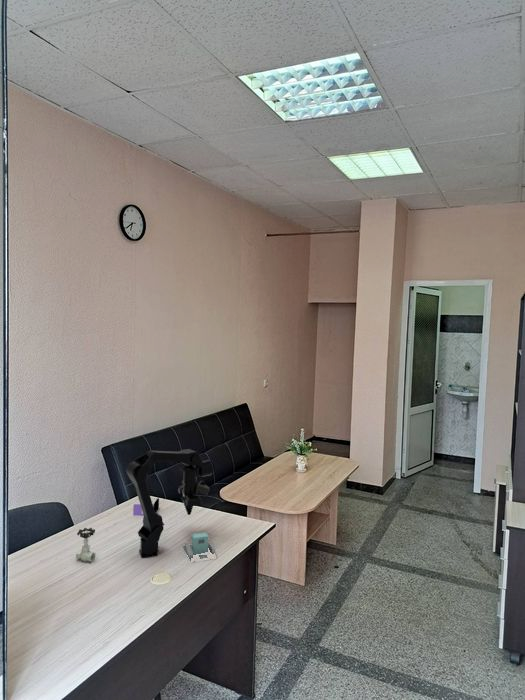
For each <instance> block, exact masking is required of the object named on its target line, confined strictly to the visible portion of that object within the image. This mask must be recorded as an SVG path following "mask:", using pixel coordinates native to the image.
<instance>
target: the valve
mask: <svg viewBox="0 0 525 700" xmlns="http://www.w3.org/2000/svg"><path fill="white" fill-rule="evenodd" d="M95 533H96V529H94V528H92V527H89V528H87V527H84V528H83V529H79V530H78V531H77V536H79V537H80V538H83V539H84V540H83V545H82V547H81V549H78V550H77V551H76V554H75V559H77V560H80V561H81V562H84V563H85V562H92V563H93V562H94V561H95V559H96V556H97V555H96V552H93V551H90V550H91V546H90V545H89V538H91V537H92V536H94V534H95Z"/></svg>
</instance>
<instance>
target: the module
mask: <svg viewBox="0 0 525 700" xmlns="http://www.w3.org/2000/svg"><path fill="white" fill-rule="evenodd" d="M208 540H210V539H209V534H208V533H207V531H204V532H195V533H191V545H192V551H193V554H194V555H196V554H201V553H205V552H208Z"/></svg>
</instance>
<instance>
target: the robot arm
mask: <svg viewBox="0 0 525 700" xmlns="http://www.w3.org/2000/svg"><path fill="white" fill-rule="evenodd" d="M156 462H170V463H171V462H172V463H175V462H176V463H181V464H182V465H181V466H180V467H178V469H179V470H180V471H181V472H183V476H182V477H183V480H182V481H181V485H180V486H178V489H177V492H178V494H181V493H182V496H181V497H180V498H181V501H182V503H183V506H184V508H185V511H186V514H187V515H188V516H190V515H192V511H193V507H196V506H202V504H203V503H202V502H203V501H202V498H201V497H200V496H199V494H201V495H204V496H206V497H207V496H208V494H209V492H210V489H211V488H210V487H209V486H208V485H207V484H206V483H205V481H204V480H200V481H197V479H198V478H204V477H208V476H212V475H213V473H214V466H213V464H212V463H211V462H212V461H211V460H209V459H206V460H201V458H200V454H199V452H197V451H195V450H192V449H190V448H187V449H181V450H179V451H171V450H170V451H167V450H152V449H150V450H148V451H146V452H145V453H144V454H142V455H140V456H138V457H136V458H135V459H134V460H133V461H131V462H129V463H128V464H127V466H126V468H125V473H126V474H127V477H128V478H129V480H130V481H131V482H132V484H133V485H134V488H135V491H136V494H137V497H138V501H139V504H141V508H142V511H143V514H144V516H142V518H143V519H142V526H141V528H139V530H138V531H137V536H138V537H139V538H140V539H139V540H140V543H139V544H140V545H139V546H140V547H139V550H138V552H139V555H140V558H141V559H143V558H144V559H145V558H151V557H157V556H158V553H159V541H160V538H161V535H162V533H163V531H164V526H165V523H164V521H163V517H162V515H161V514H160V513H158V512H155V511H154V507H153V504H154V503H153V501H152V497H151V495H150V492H149V488H148V484H147V480H148V473H149V472H150V471H151V470H152V469H153V466H154V465H155V464H156ZM197 477H198V478H197Z"/></svg>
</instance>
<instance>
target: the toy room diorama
mask: <svg viewBox="0 0 525 700" xmlns="http://www.w3.org/2000/svg"><path fill="white" fill-rule="evenodd" d="M152 504H153V507H154V511H155V512H156V513H158V511H159V509H160V498H159V497H158V498H156V500H155V501H154V503H152ZM132 513H133V514H132V515H133V516H135V517H136V516H137V517H138V516H142V517H144V514H143V511H142V508H141V504H140V503H134V504H133V512H132Z"/></svg>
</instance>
